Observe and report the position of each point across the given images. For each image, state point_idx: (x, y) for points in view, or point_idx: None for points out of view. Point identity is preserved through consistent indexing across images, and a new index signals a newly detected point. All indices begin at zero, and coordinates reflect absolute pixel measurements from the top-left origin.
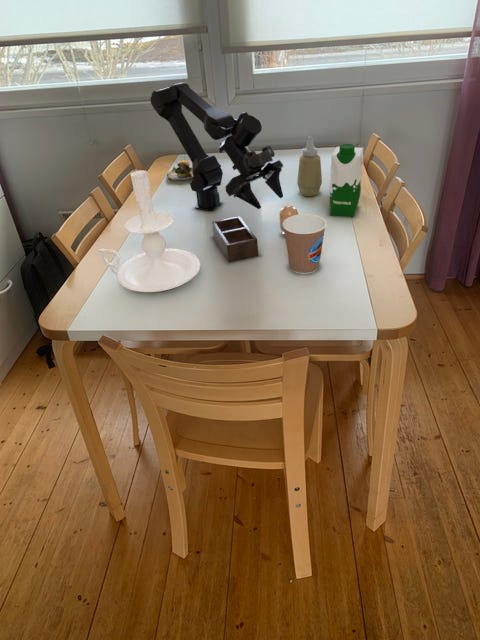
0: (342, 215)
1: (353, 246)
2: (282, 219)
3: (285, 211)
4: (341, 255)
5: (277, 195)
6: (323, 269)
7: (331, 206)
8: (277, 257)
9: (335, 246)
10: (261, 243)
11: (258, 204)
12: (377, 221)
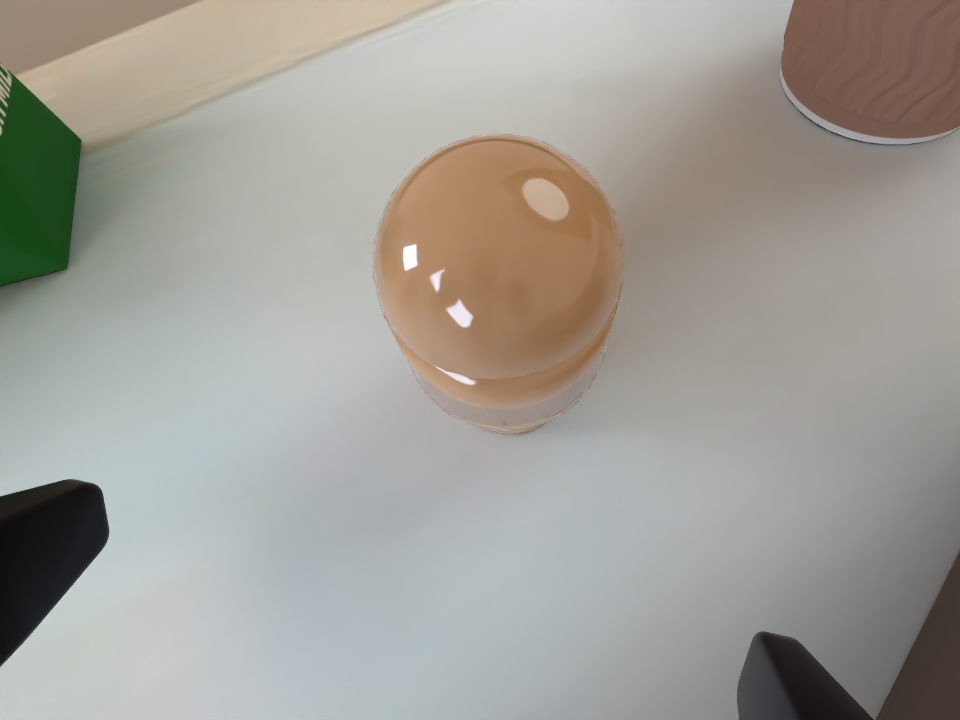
0: (72, 193)
1: (472, 6)
2: (619, 293)
3: (592, 203)
4: (603, 6)
5: (34, 626)
6: None
7: (1, 216)
8: (905, 269)
9: (518, 65)
10: (803, 527)
11: (845, 698)
12: (127, 34)
